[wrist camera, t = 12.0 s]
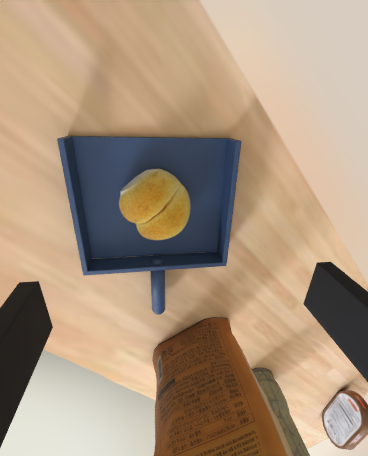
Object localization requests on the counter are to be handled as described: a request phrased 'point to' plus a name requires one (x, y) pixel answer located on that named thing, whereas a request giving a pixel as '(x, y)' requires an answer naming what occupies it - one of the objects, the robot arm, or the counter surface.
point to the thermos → (281, 410)
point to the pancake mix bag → (211, 398)
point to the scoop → (127, 231)
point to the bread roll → (156, 204)
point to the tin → (346, 419)
